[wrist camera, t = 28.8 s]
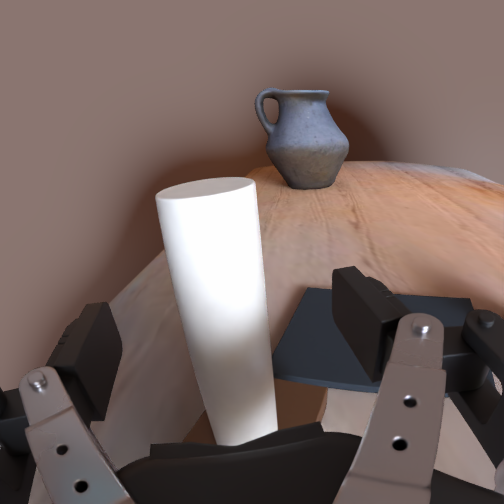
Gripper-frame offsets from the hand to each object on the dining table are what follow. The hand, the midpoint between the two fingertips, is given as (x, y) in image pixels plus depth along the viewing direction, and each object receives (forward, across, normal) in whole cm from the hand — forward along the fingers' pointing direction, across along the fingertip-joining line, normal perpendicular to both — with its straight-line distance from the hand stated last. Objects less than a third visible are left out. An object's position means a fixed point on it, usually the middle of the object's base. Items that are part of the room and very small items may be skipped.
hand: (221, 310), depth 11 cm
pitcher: (+67, -23, +10) cm, 72 cm away
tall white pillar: (-1, 0, +10) cm, 10 cm away
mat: (+8, -12, +10) cm, 17 cm away
